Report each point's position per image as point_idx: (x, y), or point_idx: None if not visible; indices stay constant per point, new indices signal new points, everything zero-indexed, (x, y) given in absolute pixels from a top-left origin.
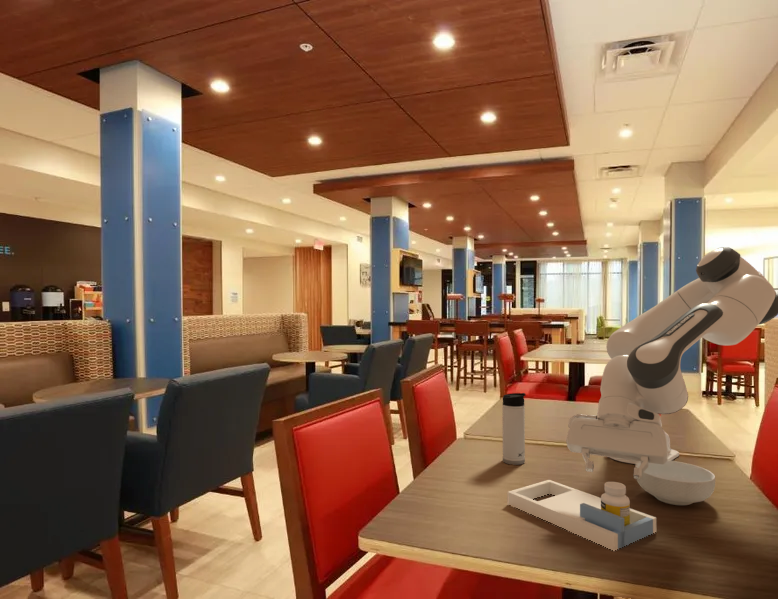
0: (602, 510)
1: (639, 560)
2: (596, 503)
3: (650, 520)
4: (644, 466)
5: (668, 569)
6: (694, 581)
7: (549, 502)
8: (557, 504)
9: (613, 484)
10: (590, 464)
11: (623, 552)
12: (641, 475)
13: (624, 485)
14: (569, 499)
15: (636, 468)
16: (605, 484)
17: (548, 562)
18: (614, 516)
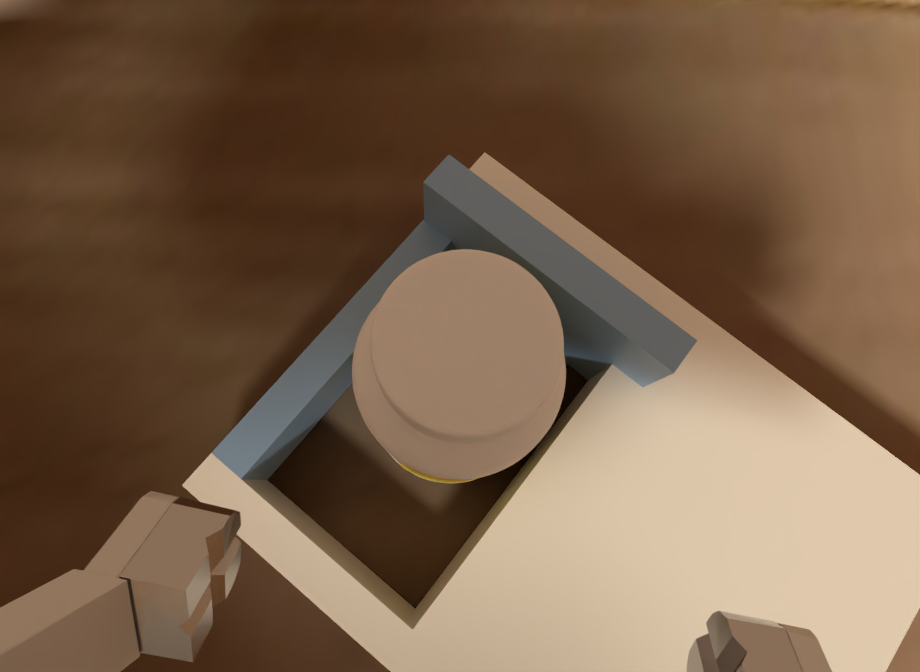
0: (549, 268)
1: (376, 142)
2: (560, 639)
3: (234, 427)
4: (18, 609)
5: (270, 96)
6: (194, 30)
7: (875, 549)
8: (819, 527)
9: (480, 354)
10: (769, 662)
11: None
12: (144, 503)
13: (378, 349)
14: None
15: (160, 571)
16: (556, 326)
17: (741, 38)
18: (480, 189)
